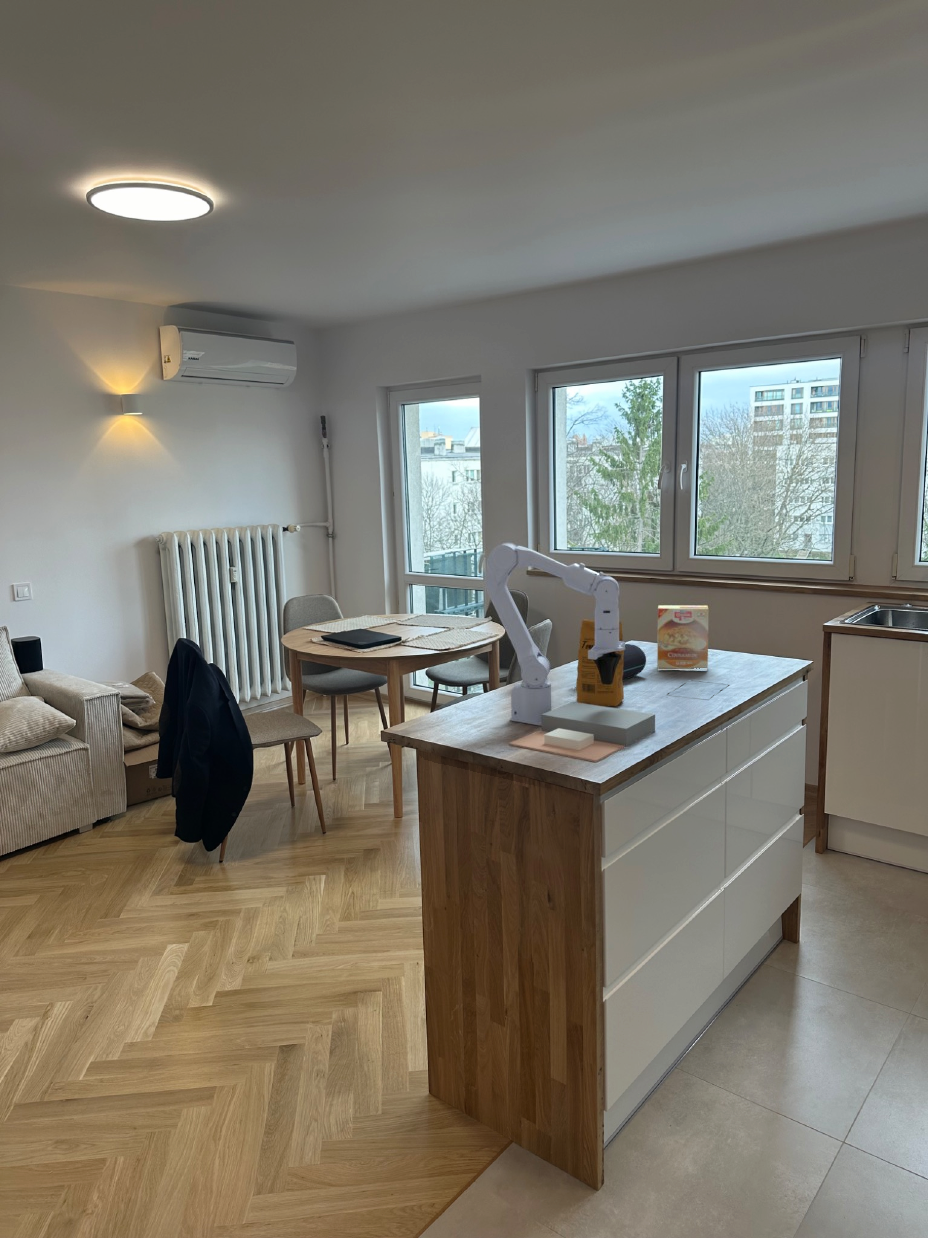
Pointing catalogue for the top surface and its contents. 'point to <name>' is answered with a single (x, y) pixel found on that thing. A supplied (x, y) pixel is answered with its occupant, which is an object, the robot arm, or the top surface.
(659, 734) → the top surface
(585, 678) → the coffee package
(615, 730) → the grey flat block
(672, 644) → the coffeecake box
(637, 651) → the portable speaker
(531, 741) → the mat
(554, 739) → the cream rectangular block
